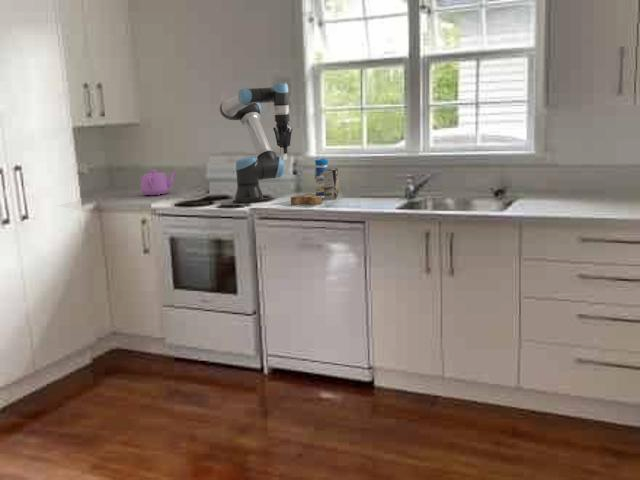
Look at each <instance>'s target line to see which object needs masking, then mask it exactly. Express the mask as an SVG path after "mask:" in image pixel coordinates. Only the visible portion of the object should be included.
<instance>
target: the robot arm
mask: <svg viewBox="0 0 640 480" xmlns="http://www.w3.org/2000/svg"><path fill="white" fill-rule="evenodd" d="M289 102H290V101H289V85H288V84H287V83H286V82H285V83H284V82H280V83H279V82H278V83H273V84H272V86H271V87H258V88H257V87H256V88H255V87H253V88H251V87H250V88H246V87H245V88H240V89H239V90H238V93H237V95H235V96H234V97H231V98H227V99H225V100H223V101H222V102H221V103H220V105H219V113H220V115H221V116H222V117H223V118H224V119H226V120H229V121H240V123H241V125H243V126H245V128H246V131H247V133H248V136H249V138H250V141H251V143H252V146H253V148H254V151H255V154H256V156H255V155H251V156H250V155H249V156H245V157H241V158H238V159H237V160H236V161H235V170H236V171H235V173H236V174H235V175H236V184H237V188H236V193H235V196H234V199H235V202H236V203H252V202H253V203H254V202H260V201H263V200H264V195H263V192H262V190H261V187H260V182H259V181H262V180H268V179H269V180H270V179H271V180H272V179H277V178H281V177H282V176H283V174H284V172H285V170H284V169H285V161H287V160H288V147H290V146H291V140H292V132H293V127H290V124H289V122H290V120H291V119H290V114H289V113H290V104H289ZM261 103H273V107H274V114H275V115H274V122H275V123H276V124H275V127H273V132H274V135H275V141H276V145H277V146H278V147H279V148H280V149H279V150H280V155H281V156H280V155H277V153H276V152H275V151H274V150H272V147H271V146H270V143H269V141H268V137H267V135H266V133H265V131H264V128H263V126H262V123H261V117H262V114H263V113H262V111H263V110H262V105H261Z"/></svg>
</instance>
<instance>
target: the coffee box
mask: <svg viewBox="0 0 640 480" xmlns="http://www.w3.org/2000/svg"><path fill="white" fill-rule="evenodd" d="M323 174H324V196H323V197H324V201H331V200H333V201H335V200H338V199H340V192H339V191H340V189H339V168H338V167H337V168H328V169H325V170H324V171H323Z"/></svg>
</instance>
